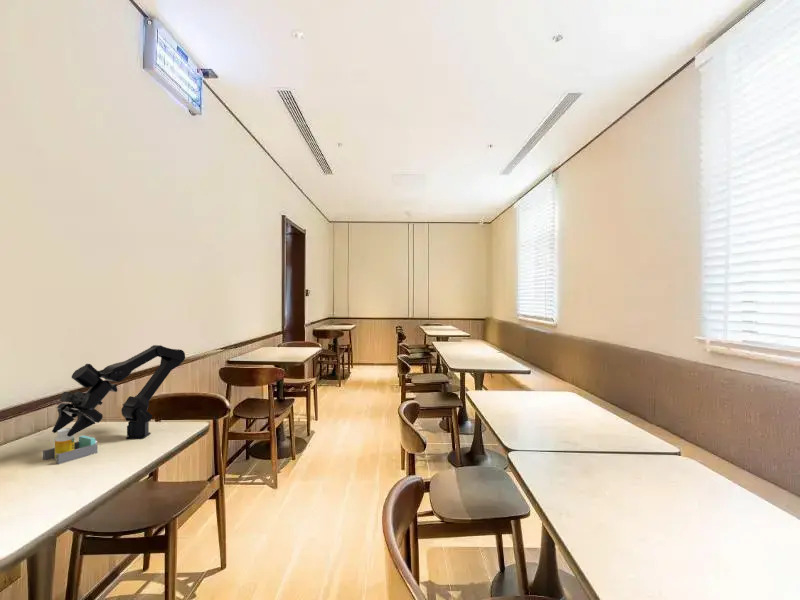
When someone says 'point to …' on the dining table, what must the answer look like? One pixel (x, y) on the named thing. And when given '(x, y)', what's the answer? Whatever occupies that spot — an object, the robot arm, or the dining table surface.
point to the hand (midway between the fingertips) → (60, 434)
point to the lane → (80, 450)
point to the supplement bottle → (63, 442)
